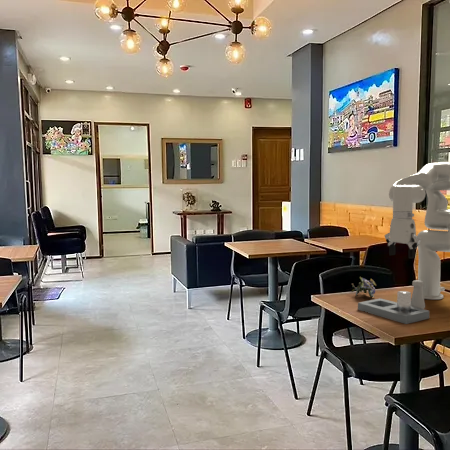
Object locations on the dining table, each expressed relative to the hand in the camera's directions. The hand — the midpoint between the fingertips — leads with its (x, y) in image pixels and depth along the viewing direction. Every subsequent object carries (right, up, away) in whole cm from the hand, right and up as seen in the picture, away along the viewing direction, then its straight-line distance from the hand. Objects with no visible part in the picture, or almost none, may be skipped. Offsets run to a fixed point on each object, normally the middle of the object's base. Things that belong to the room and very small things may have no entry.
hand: (401, 256), depth 184 cm
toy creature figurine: (-8, -21, +26) cm, 35 cm away
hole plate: (-5, -23, -2) cm, 24 cm away
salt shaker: (+7, -23, +1) cm, 24 cm away
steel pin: (-2, -24, -7) cm, 25 cm away
